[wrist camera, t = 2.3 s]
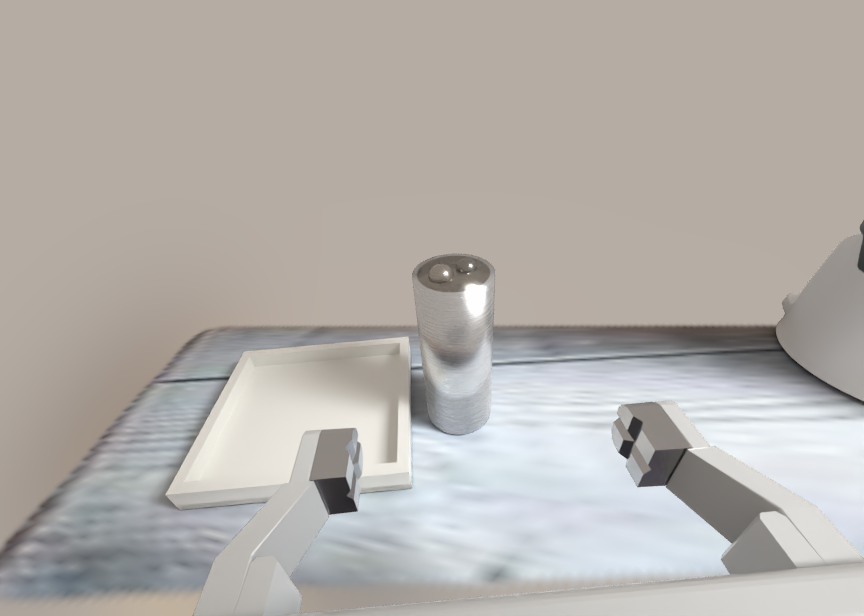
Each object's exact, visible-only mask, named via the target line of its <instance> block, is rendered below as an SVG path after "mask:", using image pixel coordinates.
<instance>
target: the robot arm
mask: <svg viewBox="0 0 864 616" xmlns="http://www.w3.org/2000/svg"><path fill="white" fill-rule="evenodd" d="M860 231H861V234H858V235H853V236H851V237H847V238H845V239H843V240H842V241H841V242H840V243H839V244H838V245H837V246H836V248H835V249H834V250H833V251H832V253H831V254H830V255H829V256H828V258H827V259H826V260H825V262H824V263H823V264H822V265H821V266H820V268H819V269H818V270H817V272H816V273H815V274H814V275H813V277H812V278H811V279H810V280H809V282H808V283H807V284H806V286H805V287H804V288H803V290H802V291H801V292H800V293H790V294H788V296H787V297H786V298H785V299H784V301H783V302H782V305H783V309H784V311H785V315H784V317H783V318H782V319H781V320H780V321H779V322H778V324H777V326H776V335H777V338H778V340H779V342H780V344H781V346H782V347H783V348H784V350H785V351H786V352H787V353H788V354H789V355H790V356H791V357H792V358H793V359H794V360H795V361H796V362H797V363H799V364H800V365H801V366H802V367H804V368H805V369H806V370H808V371H809V372H811V373H812V374H813V375H815V376H817V377H818V378H820V379H821V380H823V381H825V382H826V383H828V384H830V385H832V386H833V387H835V388H837V389H839V390H841V391H843V392H845V393H847V394H849V395H851V396H853V397H855V398H857V399H860V400H862V401H864V221H863V222H862V224H861V225H860ZM617 414H618V416H619V418H618V419H617V420H616V421H614V422H613V426H612V429H611V430H612V439H613V442H614V445H615V447H616V449H617V451H618V453H620V454H621V455H622V456H624V457H625V458H626V459H627V463H626V468H627V469H628V471H629V473H630V475H631V477H632V478H633V480H634V482H635V484H636V486H637V487H648V486H666V485H667V486H666V488H667V489H669V490H670V491H671V492H672V493H673V494H675V495H676V496H677V497H678V498H679V499H680V500H682V501H683V502H684V503H685V504H686V505H687V506H689V507H690V508H691V509H692V510H693V511H694V512H696V513H697V514H698V515H699V516H700V517H701V518H703V519H704V520H705V521H706V522H707V523H708V524H710V525H711V526H712V527H713V528H714V529H716V530H717V531H718V532H719V533H720V534H721V535H723V536H724V537H725V538H726V539H727V540H728V541H730V542H731V543H732V544H731V546H730V547H729V548H728V549H727V550H726V551H725V552H724V553H723V555H722V558H721V560H722V562H723V564H724V565H725V567H726V568H727V570H728V572H729V573H730V575H719V576H708V577H697V578H685V579H674V580H663V581H652V582H641V583H630V584H619V585H608V586H597V587H586V588H574V589H564V590H552V591H541V592H530V593H519V594H508V595H497V596H486V597H475V598H464V599H452V600H441V601H430V602H419V603H409V604H397V605H386V606H375V607H364V608H353V609H342V610H332V611H320V612H309V613H300V608H301V602H302V596H301V594H300V592H299V591H298V589H297V588H296V587H295V585H294V584H293V582H292V581H291V580H290V578H289V577H290V576H291V574H292V573H293V571H294V570H295V568H296V567H297V565H298V564H299V562H300V561H301V559H302V557H303V556H304V554H305V553H306V551H307V550H308V548H309V547H310V545H311V544H312V542H313V541H314V539H315V538H316V536H317V534H318V533H319V531H320V530H321V528H322V527H323V525H324V524H325V522H326V521H327V519H328V518H329V515H330V514H339V513H348V512H356V511H358V505H359V496H360V486H359V483H358V479H359V478H360V476H361V475H362V469H363V453H362V447H361V443H359V442H358V441H357V440H358V432H357V429H356V428H342V429H325V430H311V431H305V433H304V434H303V436H302V439H301V443H300V446H299V450H298V453H297V457H296V460H295V464H294V467H293V471H292V474H291V478H290V481H289V483H284V484H283V485H282V486H281V487H280V488H279V489H278V490H277V492H276V493H275V494H274V495H273V496H272V497H271V498H270V499H269V500H268V501H267V502H266V504H265V505H264V506H263V507H262V508H261V509H260V510H259V511H258V512H257V513H256V514H255V516H254V517H253V518H252V519H251V520H250V521H249V522H248V523H247V524H246V525H245V526H244V528H243V529H242V530H241V531H240V532H239V533H238V534H237V535H236V536H235V537H234V538H233V540H232V541H231V542H230V543H229V544H228V545H227V546H226V547H225V548H224V549H223V550H222V551H221V553H220V554H219V555H218V556H217V557H216V558H215V560H214V562H213V565H212V567H211V570H210V572H209V575H208V578H207V580H206V583H205V585H204V588H203V590H202V593H201V595H200V598H199V601H198V603H197V606H196V608H195V611H194V613H193V616H864V558H863V557H862V556H861V555H860V553H859V552H858V551H857V550H856V549H855V548H854V547H853V546H852V545H851V544H850V543H849V541H848V540H847V539H846V538H845V537H844V536H843V535H842V534H841V533H840V532H839V531H838V529H837V528H836V527H835V526H834V525H833V524H832V523H831V522H830V521H829V520H828V519H827V517H826V516H825V515H824V514H823V513H822V512H821V511H820V510H819V509H818V508H817V507H816V506H815V505H813V504H811V503H810V502H808V501H806V500H805V499H803V498H801V497H800V496H798V495H796V494H795V493H793V492H791V491H790V490H788V489H786V488H785V487H783V486H781V485H780V484H778V483H776V482H774V481H773V480H771V479H769V478H768V477H766V476H764V475H763V474H761V473H759V472H758V471H756V470H754V469H753V468H751V467H749V466H748V465H746V464H744V463H743V462H741V461H739V460H738V459H736V458H734V457H733V456H731V455H729V454H728V453H726V452H724V451H722V450H721V449H719V448H717V447H710V445H709V444H708V443H707V441H706V440H705V439H704V438H703V436H702V435H701V434H700V433H699V431H698V430H697V429H696V428H695V426H694V425H693V424H692V423H691V421H690V420H689V419H688V418H687V416H686V415H685V414H684V413H683V411H682V410H681V409H680V408H679V406H678V405H677V404H676V403H675V402H673V401H661V402H646V403H636V404H626V405H621V406H620V407H619V408H618V411H617Z"/></svg>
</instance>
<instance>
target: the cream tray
mask: <svg viewBox="0 0 864 616" xmlns="http://www.w3.org/2000/svg"><path fill="white" fill-rule="evenodd" d="M342 428H356V429H357V432H358V440H357V441H358V442H359V443H361V447H362V453H363V469H362V475H361V476H360V478H359V479H358V483H359V486H360V493H367V492H378V491H389V490H399V489H410V488H412V442H411V357H410V345H409V338H408V337H398V338H387V339H376V340H365V341H354V342H343V343H332V344H321V345H310V346H299V347H288V348H277V349H266V350H255V351H244V353H243V355H242V356H241V358H240V360H239V362H238V364H237V365H236V367H235V369H234V371H233V373H232V375H231V376H230V378H229V380H228V382H227V384H226V385H225V387H224V389H223V391H222V393H221V395H220V396H219V398H218V400H217V402H216V404H215V405H214V407H213V409H212V411H211V413H210V415H209V416H208V418H207V420H206V422H205V424H204V425H203V427H202V429H201V431H200V433H199V435H198V436H197V438H196V440H195V442H194V444H193V445H192V447H191V449H190V451H189V453H188V455H187V456H186V458H185V460H184V462H183V464H182V465H181V467H180V469H179V471H178V473H177V475H176V476H175V478H174V480H173V482H172V484H171V485H170V487H169V489H168V491H167V493H166V494H165V495H166V496H167V497H168V498H169V499H170V500H171V501H172V502H173V503H174V505H175V506H176V507H177V508H178V509H179V510H185V509H196V508H206V507H217V506H228V505H239V504H249V503H260V502H267V501H268V500H269V499H270V498H271V497H272V496H273V495H274V494H275V493H276V492H277V490H278V489H279V488H280V487H281V486H282V485H283V484H284V483H289V481H290V478H291V474H292V471H293V467H294V464H295V460H296V457H297V453H298V450H299V446H300V443H301V439H302V436H303V434H304V433H305V431H311V430H325V429H342Z"/></svg>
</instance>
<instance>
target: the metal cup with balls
mask: <svg viewBox="0 0 864 616" xmlns="http://www.w3.org/2000/svg"><path fill="white" fill-rule="evenodd" d="M412 278H413V288H414V296H415V304H416V313H417V322H418V331H419V339H420V348H421V356H422V365H423V373H424V382H425V391H426V399H427V408H428V415H429V418H430V420H431V421H432V423H433V424H434V425H435V426H436V427H437V428H439V429H440V430H442V431H444V432H446V433H450V434H455V435H463V434H469V433H472V432H474V431H476V430H478V429H480V428H481V427H482V426H483V425H484V424H485V423H486V422H487V420H488V418H489V415H490V401H491V373H492V346H493V318H494V316H493V315H494V288H495V270H494V267H493V266H492V265H491V264H490V263H489V262H488V261H486V260H484V259H482V258H480V257H477V256H473V255H467V254H446V255H440V256H436V257H432V258H430V259H427V260H425V261H423V262H422V263H420V264H419V265H418V266H417V267H416V268H415V269H414V271H413V273H412Z"/></svg>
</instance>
